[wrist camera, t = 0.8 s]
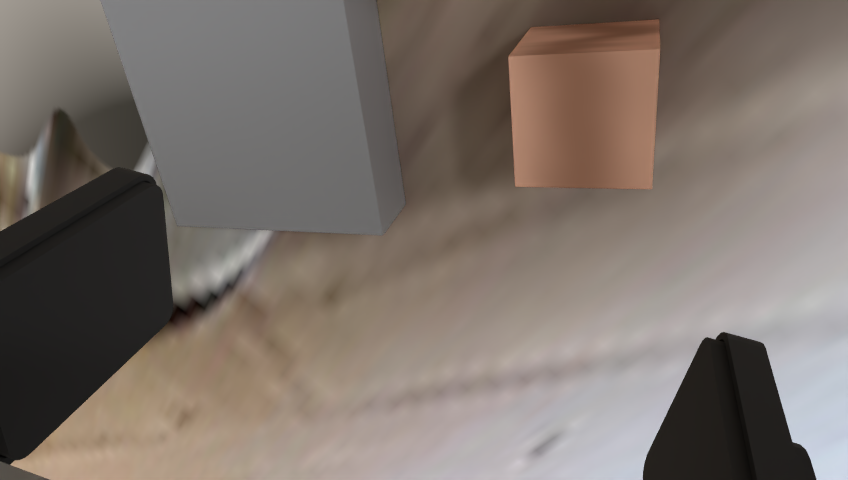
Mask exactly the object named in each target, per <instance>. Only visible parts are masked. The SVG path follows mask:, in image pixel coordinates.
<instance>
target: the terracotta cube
mask: <svg viewBox="0 0 848 480" xmlns="http://www.w3.org/2000/svg"><path fill="white" fill-rule="evenodd" d="M508 61H509V80H510V99H511V117H512V136H513V155H514V174H515V187H559V188H613V189H652V181H653V164H654V147H655V130H656V113H657V96H658V79H659V62H660V29H659V19H656V20H639V21H623V22H607V23H591V24H575V25H559V26H543V27H531V28H530V29H529V30H528V31H527V33H526V34H525V35H524V37H523V38H522V39H521V41H520V42H519V43H518V44H517V46H516V47H515V48H514V50H513V51H512V52H511V54H510V55H509V56H508Z"/></svg>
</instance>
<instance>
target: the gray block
mask: <svg viewBox="0 0 848 480" xmlns="http://www.w3.org/2000/svg"><path fill="white" fill-rule="evenodd" d="M100 1H101V4H102V6H103V9H104V12H105V15H106V18H107V21H108V24H109V27H110V30H111V33H112V36H113V39H114V42H115V44H116V47H117V50H118V53H119V56H120V59H121V62H122V65H123V68H124V71H125V74H126V77H127V80H128V83H129V86H130V89H131V92H132V94H133V97H134V100H135V103H136V106H137V109H138V112H139V115H140V118H141V121H142V124H143V127H144V130H145V133H146V136H147V139H148V141H149V144H150V147H151V150H152V153H153V156H154V159H155V162H156V165H157V168H158V171H159V174H160V177H161V180H162V183H163V185H164V188H165V191H166V194H167V197H168V200H169V203H170V206H171V209H172V212H173V215H174V218H175V221H176V224H177V226H190V227H212V228H233V229H255V230H277V231H298V232H320V233H341V234H363V235H384V233H385V232H386V230H387V229H388V228H389V226H390V225H391V224H392V222H393V221H394V220H395V218H396V217H397V216H398V214H399V213H400V211H401V210H402V209H403V207H404V206H405V205H406V202H405V195H404V188H403V181H402V174H401V167H400V160H399V153H398V146H397V139H396V132H395V125H394V119H393V112H392V105H391V98H390V91H389V84H388V77H387V70H386V63H385V56H384V49H383V42H382V35H381V29H380V22H379V15H378V8H377V1H376V0H100Z"/></svg>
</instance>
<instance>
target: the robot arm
mask: <svg viewBox="0 0 848 480" xmlns="http://www.w3.org/2000/svg"><path fill="white" fill-rule="evenodd" d="M172 311H173V297H172V287H171V276H170V265H169V255H168V244H167V233H166V223H165V212H164V201H163V193H162V190H161V188H160V187H159V186H157V185H156V182H155V180H154V178H153V177H151V176H150V175H147V174H144V173H140V172H136V171H133V170H129V169H125V168H120V167H118V168H115V169H112V170H110V171H109V172H107V173H105V174H103V175H101V176H99V177H98V178H96V179H94V180H92V181H90V182H89V183H87V184H85V185H83V186H81V187H80V188H78V189H76V190H74V191H72V192H71V193H69V194H67V195H65V196H63V197H62V198H60V199H58V200H56V201H54V202H53V203H51V204H49V205H47V206H45V207H44V208H42V209H40V210H38V211H36V212H35V213H33V214H31V215H29V216H27V217H26V218H24V219H22V220H20V221H18V222H17V223H15V224H13V225H11V226H9V227H8V228H6V229H4V230H2V231H0V480H49V479H46V478H44V477H41V476H38V475H35V474H33V473H30V472H27V471H25V470H22V469H19V468H17V467H14V466H11V465H10V464H11V463H12V462H13V461H14V460H21V459H23V458H25V457H26V456H28V455H29V454H30V453H31V452H32V451H33V450H35V449H36V448H37V447H38V446H39V445H40V444H41V443H42V442H43V441H44V440H45V439H46V438H47V437H48V436H49V435H50V434H51V433H52V432H53V431H54V430H56V429H57V428H58V427H59V426H60V425H61V424H62V423H63V422H64V421H65V420H66V419H67V418H68V417H69V416H70V415H71V414H72V413H73V412H74V411H76V410H77V409H78V408H79V407H80V406H81V405H82V404H83V403H84V402H85V401H86V400H87V399H88V398H89V397H90V396H91V395H92V394H93V393H94V392H96V391H97V390H98V389H99V388H100V387H101V386H102V385H103V384H104V383H105V382H106V381H107V380H108V379H109V378H110V377H111V376H112V375H113V374H114V373H116V372H117V371H118V370H119V369H120V368H121V367H122V366H123V365H124V364H125V363H126V362H127V361H128V360H129V359H130V358H131V357H132V356H133V355H134V354H136V353H137V352H138V351H139V350H140V349H141V348H142V347H143V346H144V345H145V344H146V343H147V342H148V341H149V340H150V339H151V338H152V337H153V336H154V335H156V334H157V333H158V332H159V331H160V330H161V329H162V328H163V327H164V326H165V325H166V324H167V322H168V321H169V319H170V317H171V315H172ZM643 480H816V477H815V473H814V470H813V467H812V464H811V460H810V458H809V456H808V453H807V451H806V449H804V448H803V447H802V446H801V445H800V444H797V443H793V442H792V439H791V436H790V432H789V429H788V425H787V422H786V418H785V415H784V411H783V408H782V404H781V401H780V397H779V394H778V390H777V387H776V383H775V380H774V376H773V372H772V369H771V365H770V362H769V358H768V355H767V351H766V348H765V346H764V344H763V343H761V342H758V341H754V340H751V339H747V338H744V337H740V336H736V335H733V334H729V333H725V332H723V333H720V334H719V335H718V336H717V338H716V340H715V339H711V338H708V337H707V338H705V339H704V340H703V341H702V343H701V344H700V346H699V348H698V350H697V352H696V354H695V357H694V359H693V361H692V363H691V365H690V367H689V369H688V371H687V373H686V375H685V377H684V379H683V381H682V383H681V386H680V388H679V390H678V392H677V394H676V396H675V398H674V400H673V402H672V404H671V406H670V408H669V410H668V412H667V415H666V417H665V419H664V421H663V423H662V425H661V427H660V429H659V431H658V433H657V435H656V437H655V439H654V441H653V444H652V446H651V448H650V450H649V452H648V454H647V457H646V460H645V464H644V470H643Z"/></svg>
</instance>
